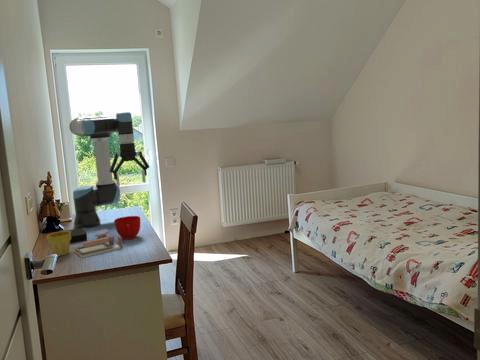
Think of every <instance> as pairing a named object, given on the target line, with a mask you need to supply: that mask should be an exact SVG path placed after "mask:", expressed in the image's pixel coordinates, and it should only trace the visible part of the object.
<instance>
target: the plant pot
mask: <svg viewBox="0 0 480 360" xmlns="http://www.w3.org/2000/svg"><path fill="white" fill-rule="evenodd" d="M60 231H61V232H60ZM60 231H55V233H53V232H52V233H50V234H47V236H46V239H47V243H48V244H49V245H50V248H51V250H52V251H51V252H52V253H53V255H54V254H57V255H62V256H66V255H68V254H69V253H70V245H71V243H70V240H71V232H69V231H66V230H60Z"/></svg>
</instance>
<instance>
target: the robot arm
mask: <svg viewBox="0 0 480 360" xmlns="http://www.w3.org/2000/svg"><path fill="white" fill-rule="evenodd" d="M69 130H70V132H71V133H72V134H73V135H74V136H78V137H89V138H90V140H91V141H92V143H93V144H92V145H93V151H94V160H95V168H96V176H97V181H96V183H95V186H93V185H86V186H80V187H78V188H76V189H73V192H72V196H73V197H72V199H73V203H74V211H75V216H74V222H73V228H74V229H79V228H85V229H89V228H93V227H94V228H95V227H97V226H99V225H101V219H100V217H99V215H98V212H97V209H96V208H98V207H103V206H107V205H110V206H111V205H113V204H117V203H118V202H119V201H120V196H121V190H120V186H121V185H120V184H121V183H120V177H119V173H118V172H119V170H120V168H121V167H122V166H123V164H124V163H125V162H131V161H132V162H133V161H134V162H135V163H136V164H137V165H138V166H139V167H140V168H141V178H142V183H147V181H146V176H148V175H147V170H148V169H149V168H150V165H149V164H148V162H147V159H145V156H144V155H143V152H142V151H141V150H139V151H136V145H135V136H134V128H133V117H132V113H131V111H130V112H129V111H124V112H122V111H121V112H117V113H116V114H115V117H109V116H107V115H91V116H88V115H87V116H79V117H77V118H74V119H72V120H71V121H70V123H69ZM113 133H117V134H118V142H119V151H120V152H119V153H114V154H113V160H112V161H111V155H110V147H109V140H110V138H111V135H112V134H113ZM136 156H138V157H139V159H138V158H137V157H136ZM119 158H121V159H120V160H119V162H118V159H119ZM139 160H141V161H139ZM117 162H118V164H117Z"/></svg>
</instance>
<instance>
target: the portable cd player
mask: <svg viewBox="0 0 480 360" xmlns="http://www.w3.org/2000/svg"><path fill="white" fill-rule="evenodd" d="M86 229H87V228H74V229H68V230H65V231H69V232H71V240H70V244H74V243H80V242H87V241H88V235H87V230H86ZM61 231H62V230H60V231H59V232H61ZM55 232H56V231H55ZM55 232H52V233H55Z"/></svg>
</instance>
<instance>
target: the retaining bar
mask: <svg viewBox="0 0 480 360" xmlns="http://www.w3.org/2000/svg"><path fill="white" fill-rule="evenodd" d="M112 241H114V242H115V236H114V235H109V236H107V237H106V238H101V239H97V238H96V239H92V240H87V241H82V246H83V247H88V246H93V245H97V244H102V243H107V242H112Z"/></svg>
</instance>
